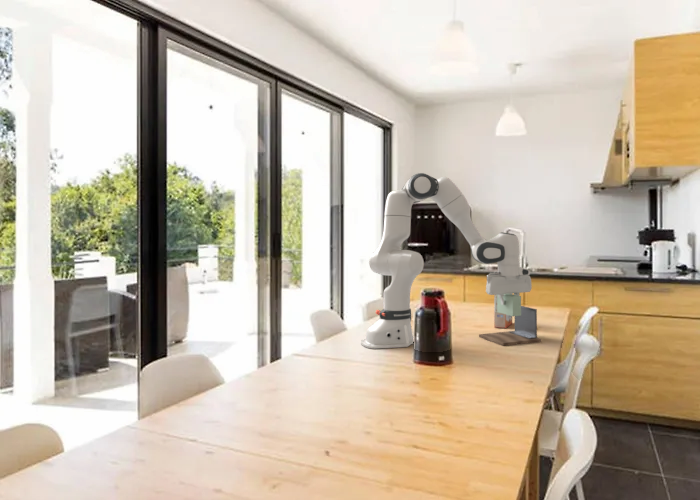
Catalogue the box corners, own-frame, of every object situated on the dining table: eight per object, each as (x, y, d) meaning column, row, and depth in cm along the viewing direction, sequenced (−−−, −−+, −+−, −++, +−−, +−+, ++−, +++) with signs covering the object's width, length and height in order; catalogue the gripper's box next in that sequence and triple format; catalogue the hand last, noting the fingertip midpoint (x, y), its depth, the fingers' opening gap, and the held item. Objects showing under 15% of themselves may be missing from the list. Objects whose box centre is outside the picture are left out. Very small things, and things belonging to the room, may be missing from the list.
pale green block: (512, 316, 213) (512, 296, 213) (497, 312, 224) (497, 293, 223) (521, 315, 215) (520, 296, 214) (505, 311, 225) (505, 292, 225)
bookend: (529, 338, 214) (528, 309, 214) (508, 332, 228) (508, 305, 227) (536, 338, 215) (536, 309, 215) (516, 331, 229) (515, 304, 228)
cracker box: (507, 328, 241) (506, 283, 240) (493, 327, 244) (493, 283, 243) (513, 323, 253) (513, 280, 252) (500, 322, 256) (500, 280, 255)
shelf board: (503, 346, 208) (503, 343, 208) (479, 337, 225) (479, 334, 225) (541, 341, 214) (541, 338, 214) (514, 333, 231) (514, 330, 231)
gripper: (491, 273, 212) (491, 307, 213) (533, 270, 218) (534, 303, 219) (482, 272, 218) (483, 304, 219) (524, 269, 224) (524, 301, 225)
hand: (509, 304), depth 219 cm, fingers closed on pale green block, 4 cm apart
